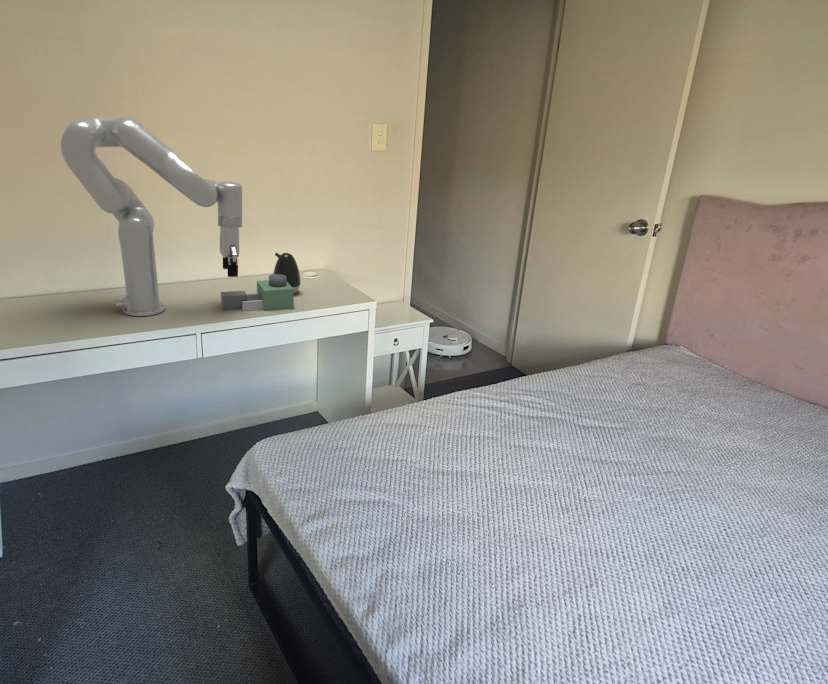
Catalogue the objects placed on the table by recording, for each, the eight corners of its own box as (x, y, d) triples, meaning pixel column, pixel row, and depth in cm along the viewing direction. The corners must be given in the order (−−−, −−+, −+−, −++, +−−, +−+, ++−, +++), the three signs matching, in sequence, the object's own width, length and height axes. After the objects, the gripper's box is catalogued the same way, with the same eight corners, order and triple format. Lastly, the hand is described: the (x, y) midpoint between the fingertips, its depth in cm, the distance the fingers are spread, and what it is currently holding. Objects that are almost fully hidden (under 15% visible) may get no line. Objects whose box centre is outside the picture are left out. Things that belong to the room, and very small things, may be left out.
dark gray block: (222, 310, 199) (222, 296, 197) (221, 305, 203) (220, 291, 202) (247, 309, 202) (246, 295, 200) (245, 304, 207) (244, 290, 205)
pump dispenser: (285, 287, 228) (285, 248, 223) (306, 292, 223) (306, 253, 218) (266, 292, 220) (265, 252, 214) (287, 298, 215) (287, 257, 210)
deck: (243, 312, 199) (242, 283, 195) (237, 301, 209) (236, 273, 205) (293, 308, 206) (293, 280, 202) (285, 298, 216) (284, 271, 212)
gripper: (214, 215, 198) (214, 266, 204) (222, 226, 183) (222, 280, 189) (237, 216, 201) (237, 265, 207) (247, 227, 187) (246, 279, 193)
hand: (230, 272), depth 198 cm, fingers open, 9 cm apart
